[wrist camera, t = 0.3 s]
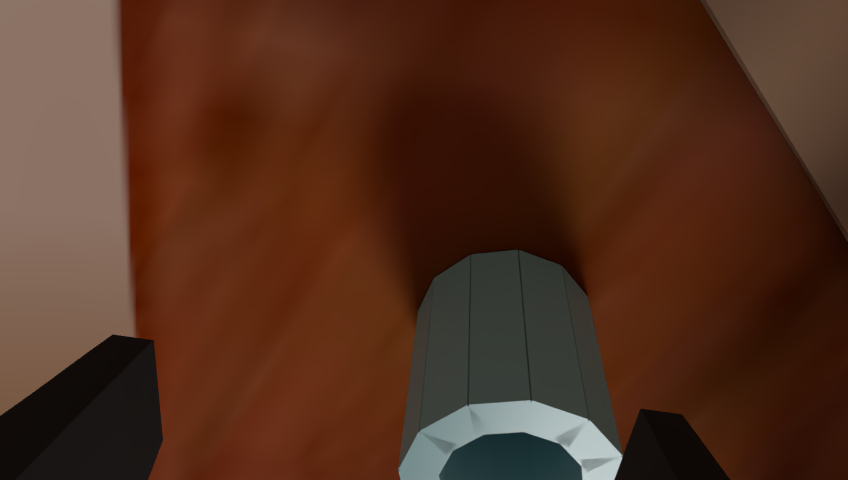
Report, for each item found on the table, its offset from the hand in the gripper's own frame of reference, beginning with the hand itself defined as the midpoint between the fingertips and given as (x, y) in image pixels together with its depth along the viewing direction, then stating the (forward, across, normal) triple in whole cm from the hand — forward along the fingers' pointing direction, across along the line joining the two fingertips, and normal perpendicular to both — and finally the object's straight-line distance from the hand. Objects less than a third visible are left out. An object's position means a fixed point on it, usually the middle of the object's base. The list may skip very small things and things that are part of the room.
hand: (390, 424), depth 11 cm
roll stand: (+10, -15, -4) cm, 18 cm away
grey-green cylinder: (+10, -3, +5) cm, 11 cm away
